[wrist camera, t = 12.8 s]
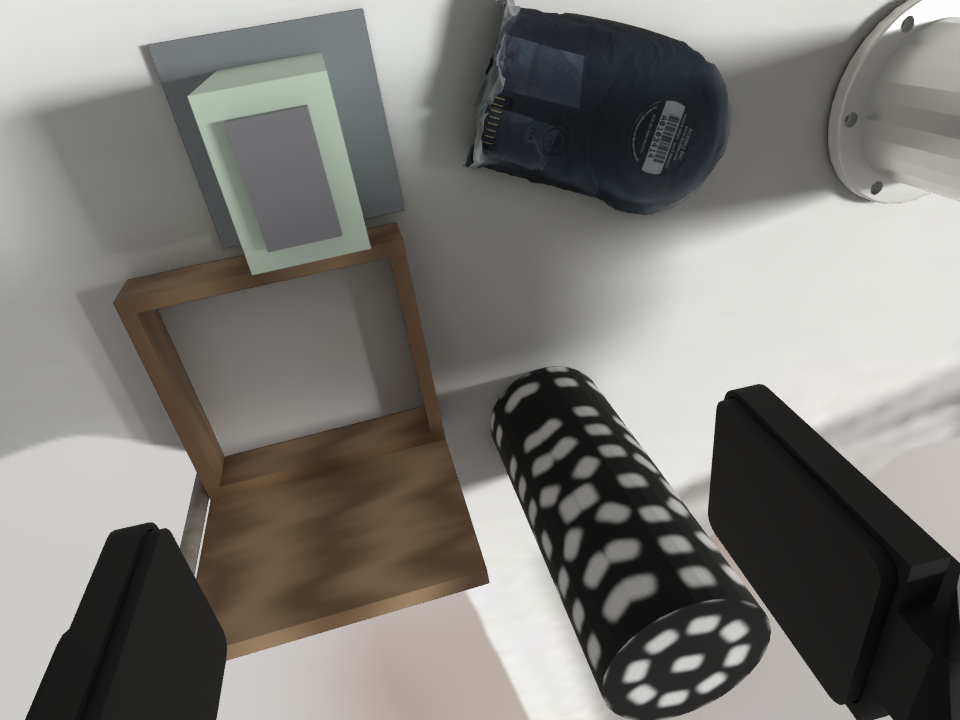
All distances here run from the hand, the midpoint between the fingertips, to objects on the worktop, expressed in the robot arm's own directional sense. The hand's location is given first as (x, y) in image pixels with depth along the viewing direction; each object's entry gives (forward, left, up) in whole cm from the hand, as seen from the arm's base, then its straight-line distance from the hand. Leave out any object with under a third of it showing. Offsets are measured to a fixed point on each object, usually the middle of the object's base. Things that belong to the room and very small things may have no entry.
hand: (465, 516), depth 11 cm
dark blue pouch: (-14, 0, -28) cm, 31 cm away
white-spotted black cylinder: (-9, +20, -28) cm, 35 cm away
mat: (+3, -2, -28) cm, 28 cm away
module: (+3, -2, -27) cm, 27 cm away
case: (+6, +11, -28) cm, 30 cm away
